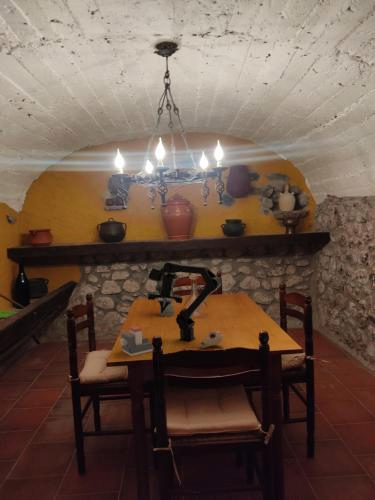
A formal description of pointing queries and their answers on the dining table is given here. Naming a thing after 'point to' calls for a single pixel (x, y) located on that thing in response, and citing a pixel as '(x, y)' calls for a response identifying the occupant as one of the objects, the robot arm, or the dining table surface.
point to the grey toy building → (131, 344)
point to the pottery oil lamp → (211, 339)
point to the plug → (135, 332)
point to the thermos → (170, 308)
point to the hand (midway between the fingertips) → (161, 312)
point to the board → (137, 352)
